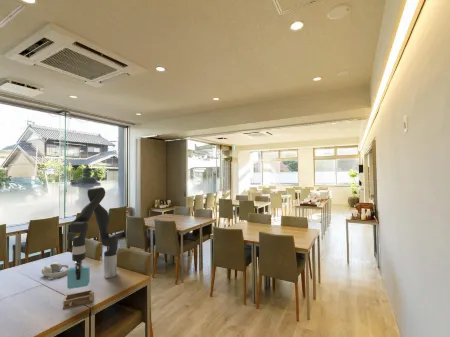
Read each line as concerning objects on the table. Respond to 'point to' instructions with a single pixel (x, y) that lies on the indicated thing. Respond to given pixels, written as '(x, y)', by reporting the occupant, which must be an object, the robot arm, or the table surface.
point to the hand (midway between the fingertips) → (78, 277)
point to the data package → (83, 278)
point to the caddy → (78, 299)
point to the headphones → (55, 270)
